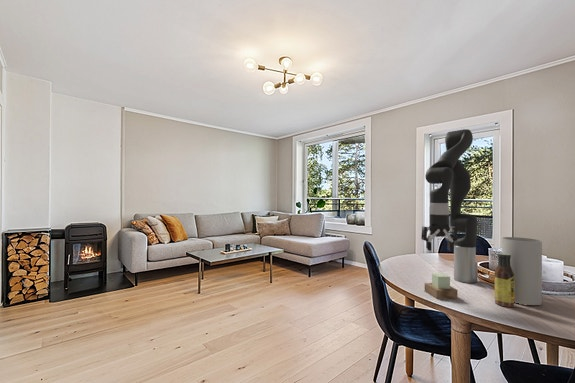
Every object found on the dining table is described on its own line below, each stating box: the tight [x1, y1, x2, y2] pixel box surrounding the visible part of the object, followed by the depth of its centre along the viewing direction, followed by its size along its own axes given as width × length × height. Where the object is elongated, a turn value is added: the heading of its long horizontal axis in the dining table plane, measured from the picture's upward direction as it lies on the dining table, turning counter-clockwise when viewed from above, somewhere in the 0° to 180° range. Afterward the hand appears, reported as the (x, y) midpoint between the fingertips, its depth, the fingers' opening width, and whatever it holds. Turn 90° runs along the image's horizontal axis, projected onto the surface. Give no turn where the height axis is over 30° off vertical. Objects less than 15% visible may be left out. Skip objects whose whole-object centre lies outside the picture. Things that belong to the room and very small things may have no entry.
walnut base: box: [424, 282, 458, 300], centre depth 120 cm, size 9×9×4 cm
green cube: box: [431, 272, 451, 289], centre depth 120 cm, size 5×5×5 cm
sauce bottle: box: [494, 252, 515, 308], centre depth 110 cm, size 7×6×20 cm
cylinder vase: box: [501, 236, 543, 306], centre depth 114 cm, size 12×12×25 cm
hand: (439, 250), depth 122 cm, fingers open, 8 cm apart
